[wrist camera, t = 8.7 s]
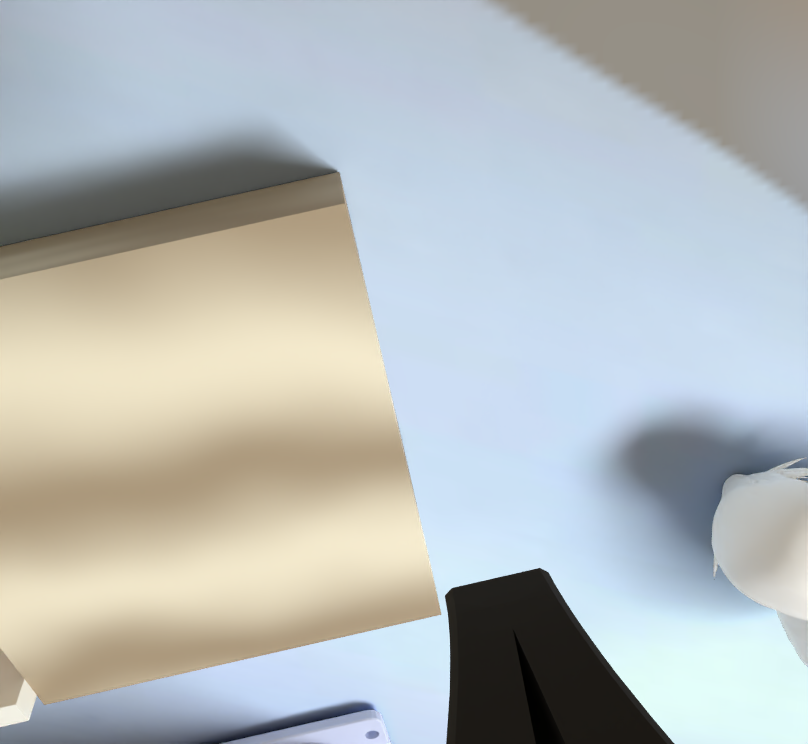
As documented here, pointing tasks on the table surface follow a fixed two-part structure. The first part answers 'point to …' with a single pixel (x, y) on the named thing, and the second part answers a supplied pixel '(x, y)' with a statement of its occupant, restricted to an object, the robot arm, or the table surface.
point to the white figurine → (767, 544)
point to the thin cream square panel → (197, 445)
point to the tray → (14, 694)
